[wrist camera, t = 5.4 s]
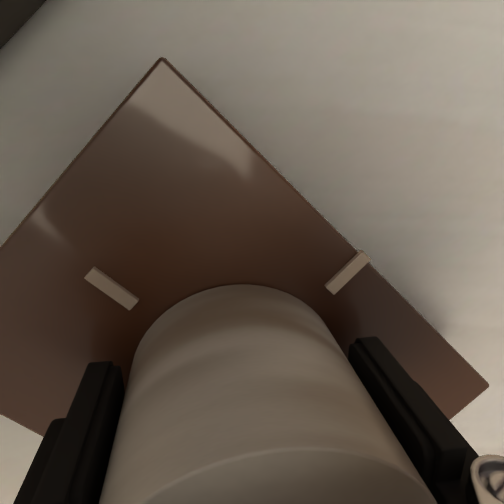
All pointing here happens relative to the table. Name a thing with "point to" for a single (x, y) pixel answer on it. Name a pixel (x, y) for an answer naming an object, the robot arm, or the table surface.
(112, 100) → the table surface
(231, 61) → the table surface
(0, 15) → the button box
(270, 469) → the pointer wheel
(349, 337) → the dial panel
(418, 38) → the table surface
